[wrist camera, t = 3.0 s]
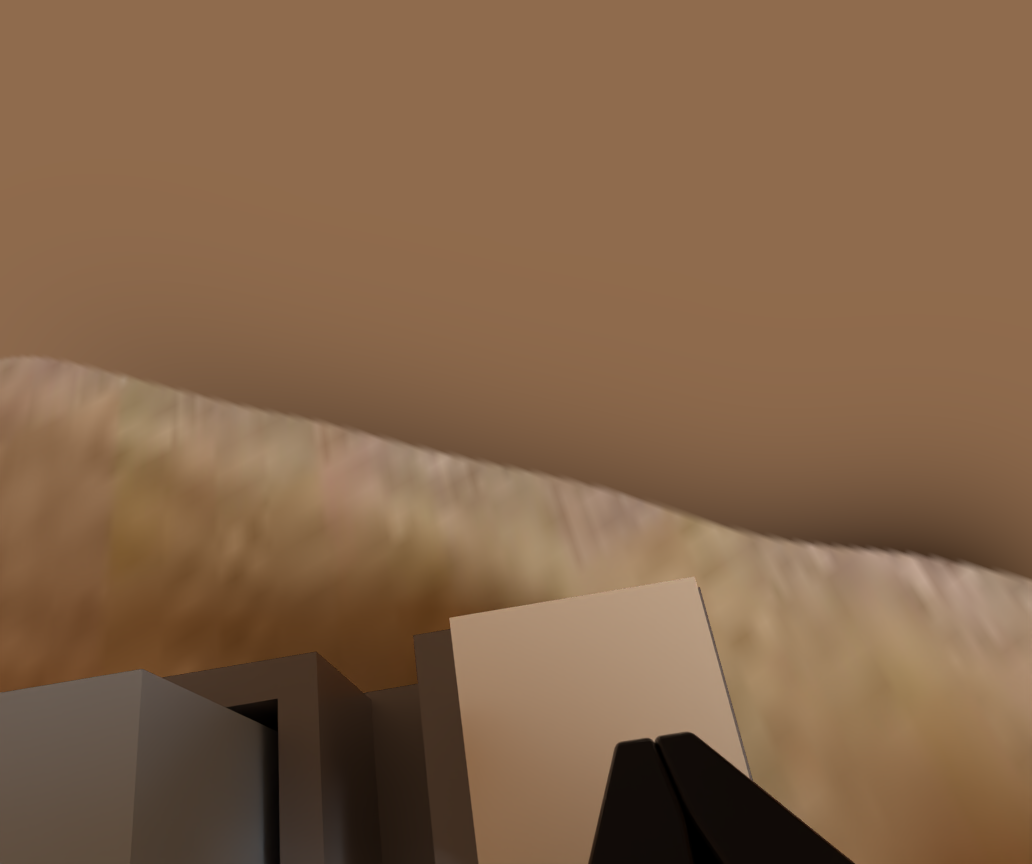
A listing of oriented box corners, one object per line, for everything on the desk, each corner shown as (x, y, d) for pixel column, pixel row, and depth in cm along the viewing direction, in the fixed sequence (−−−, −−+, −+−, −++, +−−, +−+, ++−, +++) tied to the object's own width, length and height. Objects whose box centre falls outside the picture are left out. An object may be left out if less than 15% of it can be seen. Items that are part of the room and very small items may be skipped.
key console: (745, 909, 19) (823, 929, 14) (124, 1022, 19) (-62, 1092, 13) (678, 647, 22) (720, 574, 17) (142, 738, 22) (-4, 695, 16)
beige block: (688, 856, 16) (770, 853, 10) (511, 888, 16) (483, 905, 10) (646, 675, 18) (695, 576, 12) (486, 702, 18) (449, 617, 12)
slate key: (291, 927, 16) (123, 969, 10) (108, 960, 16) (-181, 1024, 10) (288, 736, 18) (142, 669, 11) (122, 764, 17) (-115, 712, 11)
